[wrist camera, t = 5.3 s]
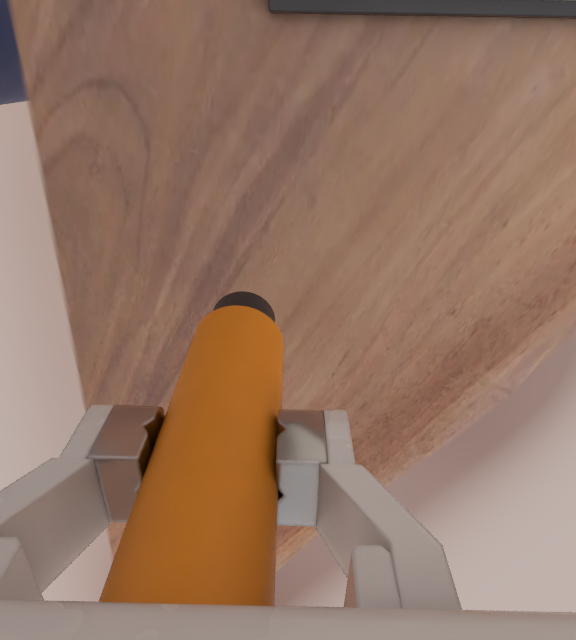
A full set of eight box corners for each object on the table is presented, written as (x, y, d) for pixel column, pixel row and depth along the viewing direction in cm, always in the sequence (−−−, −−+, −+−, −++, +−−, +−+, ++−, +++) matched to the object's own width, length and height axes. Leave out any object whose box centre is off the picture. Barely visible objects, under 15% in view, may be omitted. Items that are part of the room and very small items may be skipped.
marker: (204, 353, 16) (-28, 1125, 4) (198, 279, 14) (-161, 1115, 3) (285, 355, 16) (263, 1131, 4) (287, 281, 14) (260, 1126, 3)
